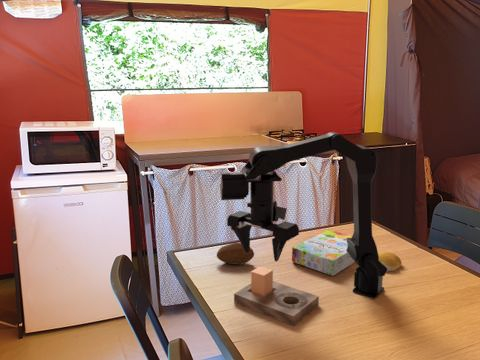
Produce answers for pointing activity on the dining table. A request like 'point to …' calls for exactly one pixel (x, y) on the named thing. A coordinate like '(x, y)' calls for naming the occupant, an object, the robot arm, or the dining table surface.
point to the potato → (234, 254)
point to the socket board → (279, 302)
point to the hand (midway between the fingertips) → (261, 256)
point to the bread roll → (390, 261)
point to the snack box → (324, 252)
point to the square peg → (262, 281)
